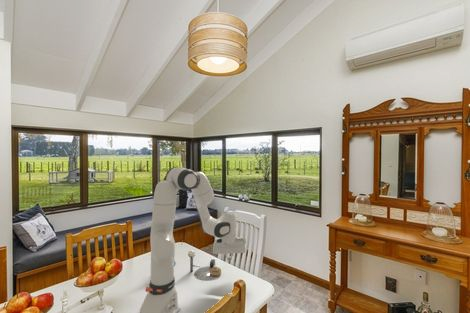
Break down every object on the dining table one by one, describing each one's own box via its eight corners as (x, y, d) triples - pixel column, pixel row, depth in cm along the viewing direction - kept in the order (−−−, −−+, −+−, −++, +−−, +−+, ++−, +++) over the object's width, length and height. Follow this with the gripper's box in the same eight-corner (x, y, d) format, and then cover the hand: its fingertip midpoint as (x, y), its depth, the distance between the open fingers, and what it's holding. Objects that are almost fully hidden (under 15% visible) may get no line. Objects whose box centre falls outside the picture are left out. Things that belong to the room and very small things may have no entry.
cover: (219, 277, 140) (219, 271, 140) (208, 276, 141) (208, 270, 141) (222, 271, 147) (222, 266, 147) (211, 270, 148) (211, 265, 148)
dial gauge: (187, 274, 146) (187, 251, 146) (189, 271, 150) (189, 249, 150) (199, 276, 144) (199, 253, 144) (201, 272, 148) (201, 250, 148)
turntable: (217, 283, 135) (217, 276, 135) (190, 280, 139) (190, 273, 139) (225, 266, 155) (225, 260, 155) (201, 263, 159) (201, 258, 159)
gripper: (245, 235, 146) (245, 256, 146) (213, 236, 145) (213, 257, 145) (246, 239, 139) (246, 261, 140) (212, 240, 138) (212, 262, 139)
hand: (229, 259), depth 142 cm, fingers closed
